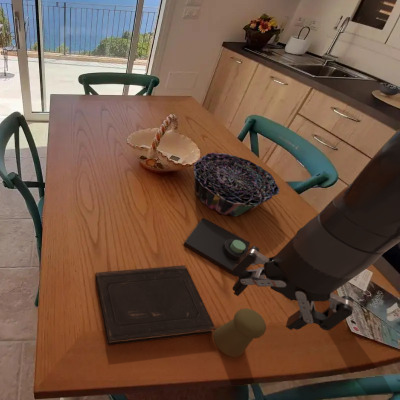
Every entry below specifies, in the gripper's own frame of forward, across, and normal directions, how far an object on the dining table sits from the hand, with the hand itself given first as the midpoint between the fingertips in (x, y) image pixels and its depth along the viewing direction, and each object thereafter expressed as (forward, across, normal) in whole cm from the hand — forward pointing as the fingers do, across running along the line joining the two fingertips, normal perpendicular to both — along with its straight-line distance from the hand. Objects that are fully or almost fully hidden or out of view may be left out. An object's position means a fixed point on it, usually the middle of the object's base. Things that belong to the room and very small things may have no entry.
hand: (262, 307), depth 46 cm
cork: (+15, +1, 0) cm, 16 cm away
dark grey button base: (+15, -11, +24) cm, 31 cm away
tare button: (+13, -6, +24) cm, 28 cm away
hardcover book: (+16, -16, -4) cm, 23 cm away
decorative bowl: (+15, -17, +48) cm, 53 cm away
